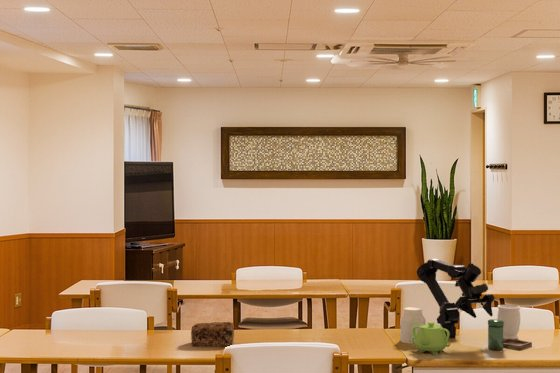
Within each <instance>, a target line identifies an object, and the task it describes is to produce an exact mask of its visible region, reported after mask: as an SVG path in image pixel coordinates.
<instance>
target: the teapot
mask: <svg viewBox="0 0 560 373" xmlns="http://www.w3.org/2000/svg"><path fill="white" fill-rule="evenodd" d="M416 328H419V330H418V332H417V335H416V332H415V329H416ZM444 331H446V332H447V337H446V334H445V332H444ZM413 334H414V338H412V342H414V343H413V344H414V345H415V347H416V349H418V352H419V353H425V352H426V351H430V352H431V354H432V355H439V353H438V352H440V353H441V352H442V351H443V352H444V350H445V349H446V347H447V348H449V347H450V346H451V342H450V341H449V339H450V338H449V336H450V333H449V331H448V330H447V329H443V327H442V326H440V324H435V322H433V321H429V322H427V324H426V325H422V326H415V327H414V328H413ZM414 339H415V341H414Z"/></svg>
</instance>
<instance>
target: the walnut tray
mask: <svg viewBox="0 0 560 373" xmlns="http://www.w3.org/2000/svg"><path fill="white" fill-rule="evenodd" d="M532 346H533V342H532V341H525V340H521V339H520V340H519V339H503V348H504V349H512V350H516V351H521V350H524V349H528V348H530V347H531V348H532Z"/></svg>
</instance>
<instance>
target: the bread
mask: <svg viewBox="0 0 560 373" xmlns="http://www.w3.org/2000/svg"><path fill="white" fill-rule="evenodd" d="M190 334H191V335H190V337H191V339H190V340H191V345H192V347H229V346H228V345H232V344H234V338H235V324H234V323H233V322H230V321H220V322H219V321H218V322H217V321H215V322H214V321H213V322H203V323H202V322H201V323H195V324H193V326H192V327H191V332H190ZM232 346H233V345H232Z"/></svg>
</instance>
